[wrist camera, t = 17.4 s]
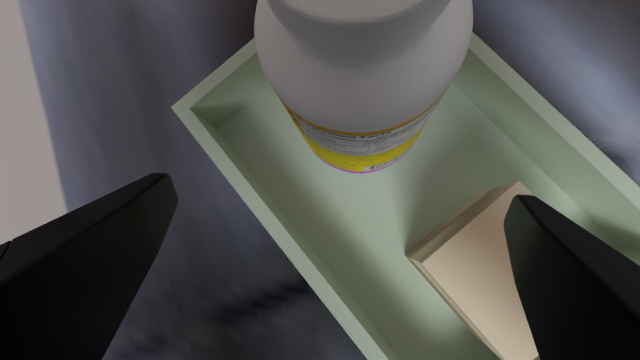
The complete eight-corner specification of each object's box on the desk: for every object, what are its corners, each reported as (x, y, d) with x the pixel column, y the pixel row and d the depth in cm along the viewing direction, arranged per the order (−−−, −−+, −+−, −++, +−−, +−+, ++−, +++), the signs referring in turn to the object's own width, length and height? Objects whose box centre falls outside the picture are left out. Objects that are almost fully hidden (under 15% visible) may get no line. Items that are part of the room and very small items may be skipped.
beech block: (471, 332, 17) (517, 373, 12) (404, 254, 18) (421, 263, 13) (546, 268, 17) (621, 283, 12) (475, 194, 18) (518, 180, 13)
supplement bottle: (323, 53, 20) (265, -239, 8) (433, 81, 19) (572, -203, 7) (286, 157, 20) (156, 23, 7) (399, 192, 19) (482, 109, 6)
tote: (434, 419, 17) (457, 475, 13) (205, 130, 21) (170, 107, 17) (632, 249, 17) (712, 254, 14) (370, -8, 21) (372, -62, 17)
